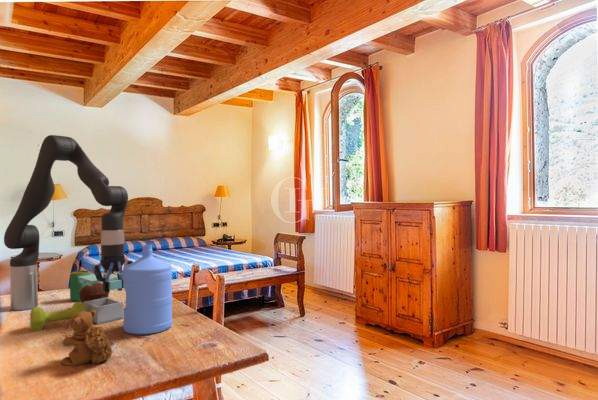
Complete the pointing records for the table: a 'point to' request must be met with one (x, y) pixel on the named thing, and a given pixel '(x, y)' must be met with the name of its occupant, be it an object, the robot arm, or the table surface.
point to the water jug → (147, 295)
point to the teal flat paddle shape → (90, 279)
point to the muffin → (92, 292)
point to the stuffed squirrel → (86, 341)
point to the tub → (105, 310)
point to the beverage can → (76, 285)
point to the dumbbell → (52, 315)
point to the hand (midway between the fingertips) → (113, 291)
